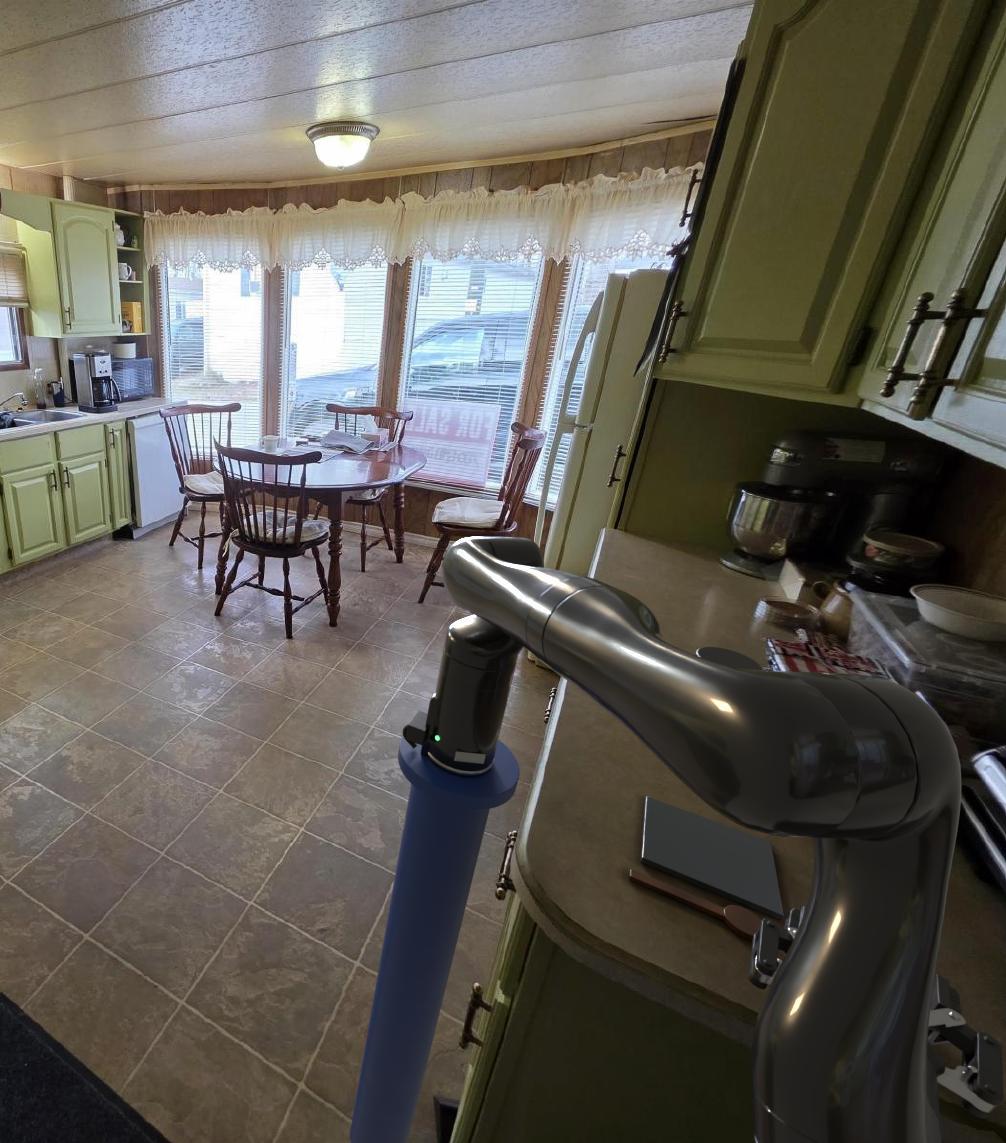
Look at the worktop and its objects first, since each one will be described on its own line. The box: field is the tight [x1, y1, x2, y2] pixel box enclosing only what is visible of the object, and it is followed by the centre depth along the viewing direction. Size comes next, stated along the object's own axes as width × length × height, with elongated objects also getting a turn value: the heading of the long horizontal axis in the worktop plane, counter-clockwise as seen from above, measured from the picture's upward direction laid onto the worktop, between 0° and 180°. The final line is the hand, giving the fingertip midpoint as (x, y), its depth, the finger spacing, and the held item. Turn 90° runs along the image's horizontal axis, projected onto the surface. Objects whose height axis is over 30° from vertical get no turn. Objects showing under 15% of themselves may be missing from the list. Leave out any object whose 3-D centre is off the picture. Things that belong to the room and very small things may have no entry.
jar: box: [694, 646, 763, 671], centre depth 94 cm, size 9×8×12 cm
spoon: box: [628, 868, 763, 941], centre depth 66 cm, size 12×4×1 cm, turn 56°
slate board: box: [640, 796, 785, 921], centre depth 72 cm, size 13×12×1 cm
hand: (866, 946), depth 54 cm, fingers open, 8 cm apart
